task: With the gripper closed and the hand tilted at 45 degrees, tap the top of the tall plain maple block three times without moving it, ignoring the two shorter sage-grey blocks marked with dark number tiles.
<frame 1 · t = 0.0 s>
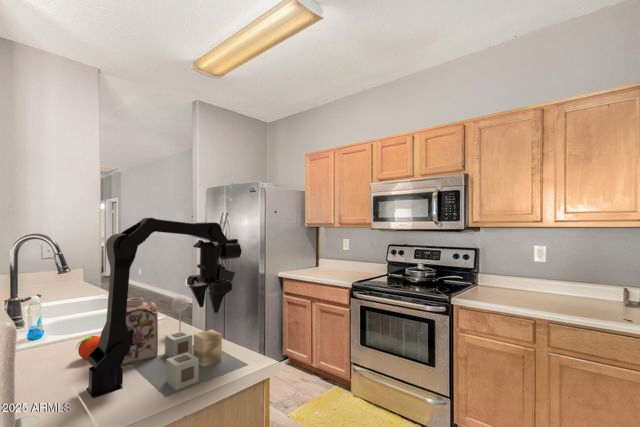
hand: (208, 309, 103), 15 cm above the counter, tool pointing down, fingers open, 9 cm apart
numbered block front: (182, 381, 85), resting on slate rubber mat
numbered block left: (178, 354, 103), resting on slate rubber mat
slate rubber mat: (189, 365, 96), on the counter
lollipop: (179, 336, 120), on the counter
decorative jar: (134, 356, 101), on the counter, touching slate rubber mat
plain maple block: (207, 360, 98), resting on slate rubber mat
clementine: (89, 360, 99), on the counter
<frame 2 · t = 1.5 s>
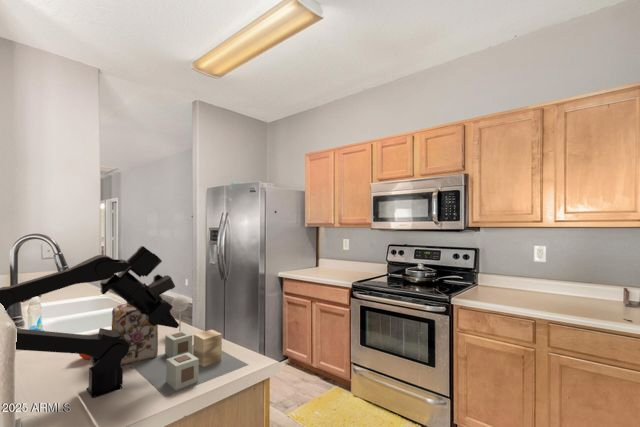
hand: (175, 323, 93), 14 cm above the counter, tool tilted 45°, fingers open, 6 cm apart
nothing on the counter moved.
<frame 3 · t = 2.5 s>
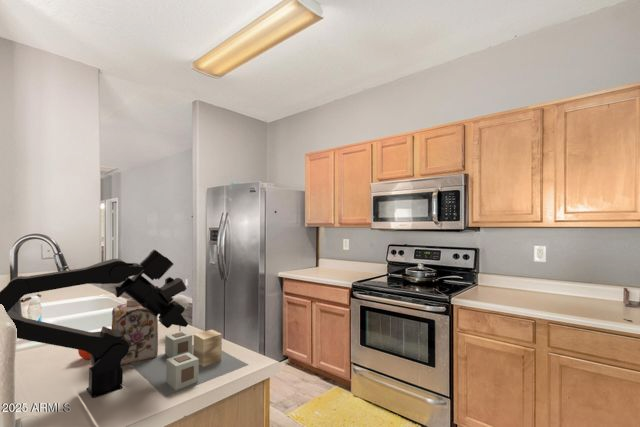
hand: (186, 325, 95), 13 cm above the counter, tool tilted 45°, fingers closed
nothing on the counter moved.
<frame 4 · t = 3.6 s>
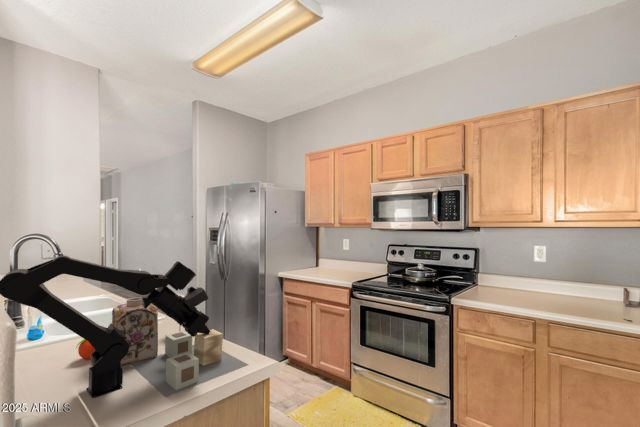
hand: (208, 332, 99), 9 cm above the counter, tool tilted 45°, fingers closed, pressing on plain maple block
plain maple block: (207, 360, 98), point 1 cm above the counter, touching gripper, slate rubber mat
everything else where it was.
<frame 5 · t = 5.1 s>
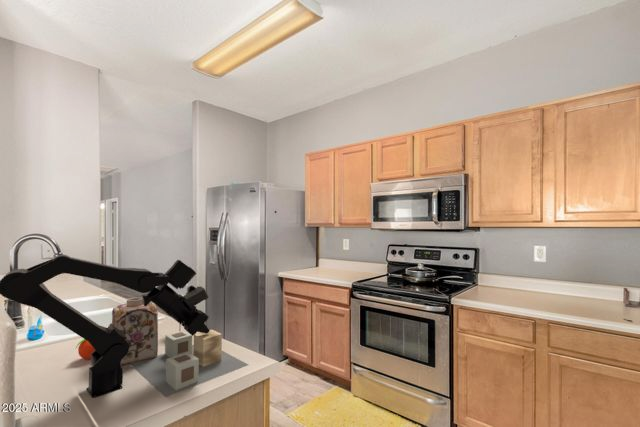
hand: (208, 331, 99), 9 cm above the counter, tool tilted 45°, fingers closed
plain maple block: (207, 360, 98), resting on slate rubber mat
everything else where it was.
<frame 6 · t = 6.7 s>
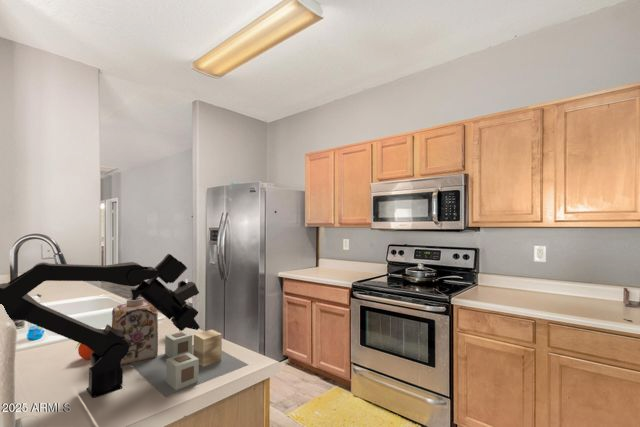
hand: (198, 328, 97), 11 cm above the counter, tool tilted 45°, fingers closed
nothing on the counter moved.
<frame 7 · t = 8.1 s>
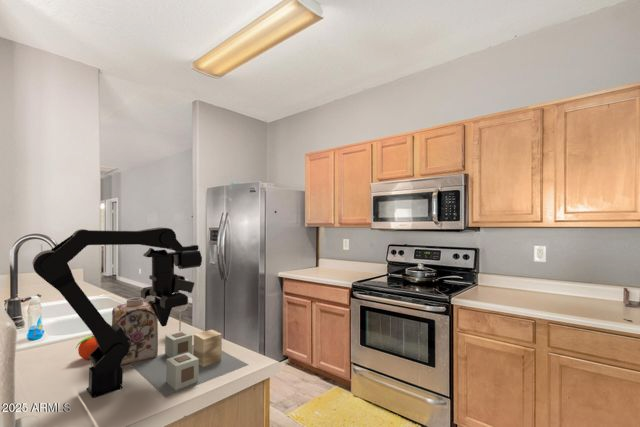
hand: (163, 325, 92), 13 cm above the counter, tool pointing down, fingers closed
nothing on the counter moved.
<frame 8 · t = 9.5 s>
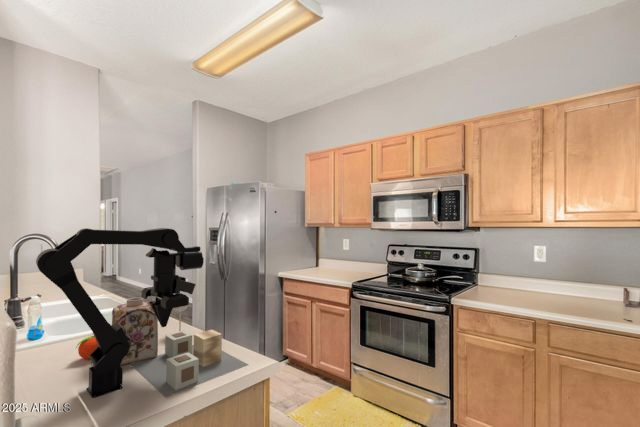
hand: (163, 326, 92), 13 cm above the counter, tool pointing down, fingers closed
nothing on the counter moved.
at the end: plain maple block moved 0.0 cm from its start; plain maple block tilted 0°; numbered block front moved 0.0 cm from its start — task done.
